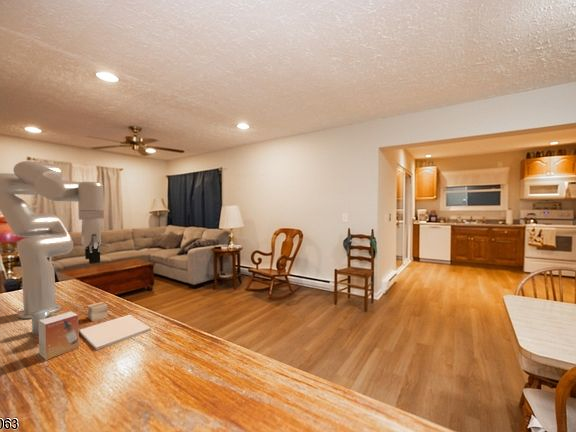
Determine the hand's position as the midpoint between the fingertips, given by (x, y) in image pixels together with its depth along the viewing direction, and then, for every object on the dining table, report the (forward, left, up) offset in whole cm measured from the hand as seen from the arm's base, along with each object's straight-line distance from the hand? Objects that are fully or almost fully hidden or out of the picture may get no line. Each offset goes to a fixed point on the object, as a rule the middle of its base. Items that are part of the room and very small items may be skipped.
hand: (92, 260), depth 98 cm
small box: (+16, -13, -23) cm, 31 cm away
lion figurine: (+2, -11, -23) cm, 26 cm away
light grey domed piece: (-5, -14, -23) cm, 27 cm away
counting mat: (+15, +2, -23) cm, 28 cm away
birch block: (-3, +2, -23) cm, 23 cm away
